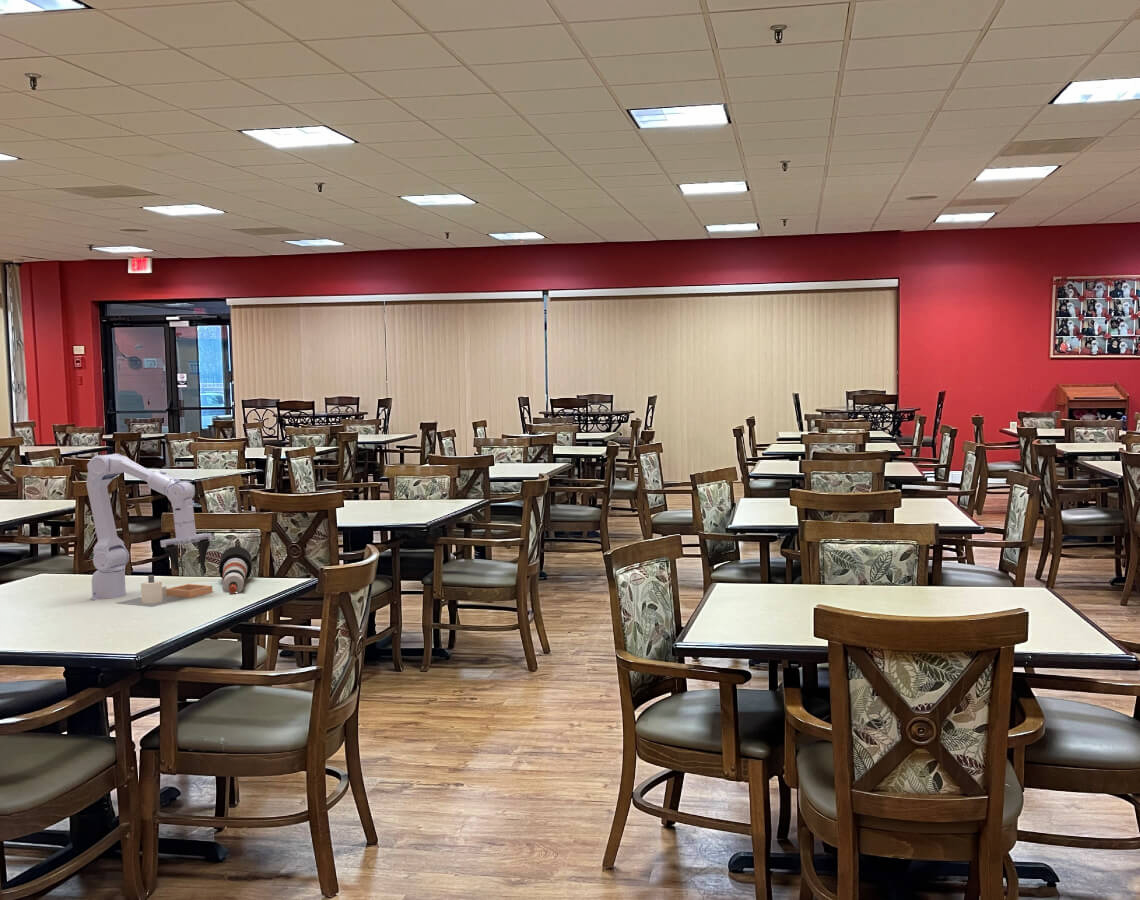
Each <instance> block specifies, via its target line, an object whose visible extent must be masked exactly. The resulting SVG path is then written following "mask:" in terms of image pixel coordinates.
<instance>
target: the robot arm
mask: <svg viewBox="0 0 1140 900" xmlns="http://www.w3.org/2000/svg"><path fill="white" fill-rule="evenodd" d="M86 467H87V477H86V481H85V482H86V484H85V485H86V488H87V489H86V490H87V495H88V499H89V504H90V509H91V513H92V518H93V522H94V529H95V532H96V537H97V542H96V543H95V544H94V547H93V548H92V549H93V558H92V563H93V566H94V567H95V569H96V571H94V573H93V574H92V577H91V595H92V597H91V598H89V600H90V601H98V600H102V599H107V600H108V599H117V598H118V599H119V598H123V597H126V596H127V592H126V567H127V566H126V565H127V564H128V563H129V561H130V553H129V550H128V549H127V548H126V546H125V542H124V540H122V539H121V538H120V537H119V536H118V533H117V528H116V524H115V522H116V521H115V519H114V514H113V508H112V504H111V500H110V493H109V490H108V486H109V485H110V483H111V482H112V481H113V479H115V478H116V477H118V476H120V474H122V473H125V474H127V475H130V476H131V477H134V478H137V479H138V480H141V481H144V482H147V486H148V488H150V489H152V490H153V491H156V492H157V493H159V494H162V495H164V496H166V497H167V499H168V500H169V502H170V503H171V507H172V512H173V513H172V515H173V523H174V524H173V525H174V532H175V538H174V537H172V538H167V539H161V540H160V541H159V542H160V547H161V548H164V552H165V553H167V555H168V557H169V559H170V561H171V563H172V566H173V569H174V570H175V571H179V570H180V567H179V566H180V565H179V561H178V559H179V558H178V547H177V545H178V546H179V545H184V544H191V543H196V546H197V549H198V550H197V551H198V555H199V556H198V557H199V564H200V565H199V566H205V565H206V564H205V563H206V556H207V553H208V549H209V547H210V544H211V540H213V536H212V533H209V532H208V533H202V534H201V533H200V534H197V530H196V523H195V511H194V503H193V498H194V497H195V494H196V488H195V486H194V485H193V484H192V483H191V482H190V481H187V480H184V481H181V480H180V478H178V477H174V476H170V474H167V471H165V470H157V471H152V470H150V469H149V468H147V467H144V466H142V465H140V464H139V463H137V462H135V461H134V460H131V459H130V458H129V457H128V456H125V455H122V454H121V453H117V452H116V453H112V454H97V455H95V456H93V457H91V459H90V461H89V462H88V463H87V464H86Z"/></svg>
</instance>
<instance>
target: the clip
mask: <svg viewBox="0 0 1140 900" xmlns="http://www.w3.org/2000/svg"><path fill="white" fill-rule="evenodd" d="M166 589H167V586H165V585H162V597H166V596H167V593H166Z"/></svg>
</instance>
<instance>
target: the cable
mask: <svg viewBox="0 0 1140 900" xmlns="http://www.w3.org/2000/svg"><path fill="white" fill-rule="evenodd" d="M219 561H220V562H219V567H218V573H219V576H220V578H221V579H222V588H223V591H225V593H228V594H236V593H235V592H239V593H242V590H243V589H244V585H245V582H246V581H247V580H248V579H249V577H250V576H251V574H252V570H253V569H252V567H253V558H252V555H251V553H250V552H249V551H248V550H247V549H246V548H244V547H242V546H231V547H229V548H227V549H225V551H224V552H222V554H221V557H220V560H219Z"/></svg>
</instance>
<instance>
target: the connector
mask: <svg viewBox="0 0 1140 900" xmlns="http://www.w3.org/2000/svg"><path fill="white" fill-rule="evenodd" d="M147 580H148V581H144V582H140V593H141V596H140V597H142V604H156V603H160V602H163V599H162V587H163V583H162V581H157V580H155V575H154V574H150V575H148V576H147Z"/></svg>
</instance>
